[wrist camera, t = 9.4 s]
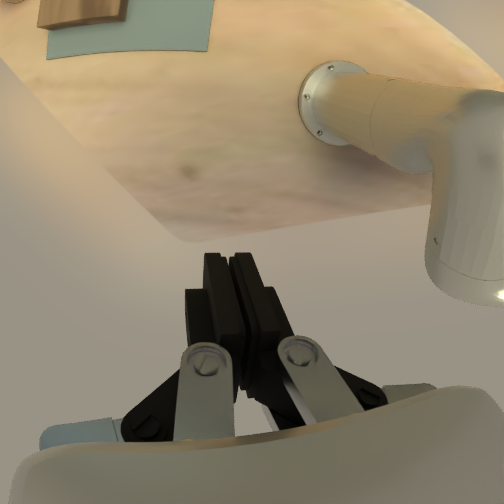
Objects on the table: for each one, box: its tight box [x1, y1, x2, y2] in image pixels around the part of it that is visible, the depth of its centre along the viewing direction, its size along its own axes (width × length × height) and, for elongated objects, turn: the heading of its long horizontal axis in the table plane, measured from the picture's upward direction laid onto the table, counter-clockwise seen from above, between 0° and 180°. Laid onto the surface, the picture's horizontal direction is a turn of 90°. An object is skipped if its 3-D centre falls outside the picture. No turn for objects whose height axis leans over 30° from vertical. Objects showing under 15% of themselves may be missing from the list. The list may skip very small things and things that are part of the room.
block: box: [37, 0, 129, 31], centre depth 23 cm, size 5×5×10 cm
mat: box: [46, 0, 214, 60], centre depth 27 cm, size 21×13×1 cm, turn 83°
